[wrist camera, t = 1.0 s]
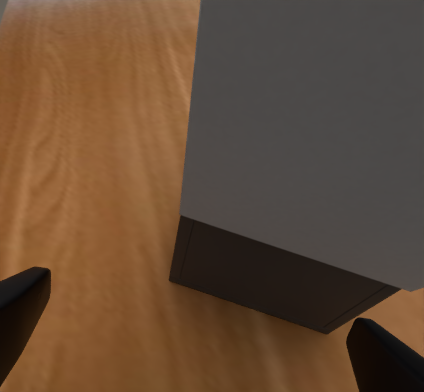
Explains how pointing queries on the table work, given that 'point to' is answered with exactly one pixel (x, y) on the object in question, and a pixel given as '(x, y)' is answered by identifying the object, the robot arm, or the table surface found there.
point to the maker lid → (312, 130)
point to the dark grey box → (271, 278)
